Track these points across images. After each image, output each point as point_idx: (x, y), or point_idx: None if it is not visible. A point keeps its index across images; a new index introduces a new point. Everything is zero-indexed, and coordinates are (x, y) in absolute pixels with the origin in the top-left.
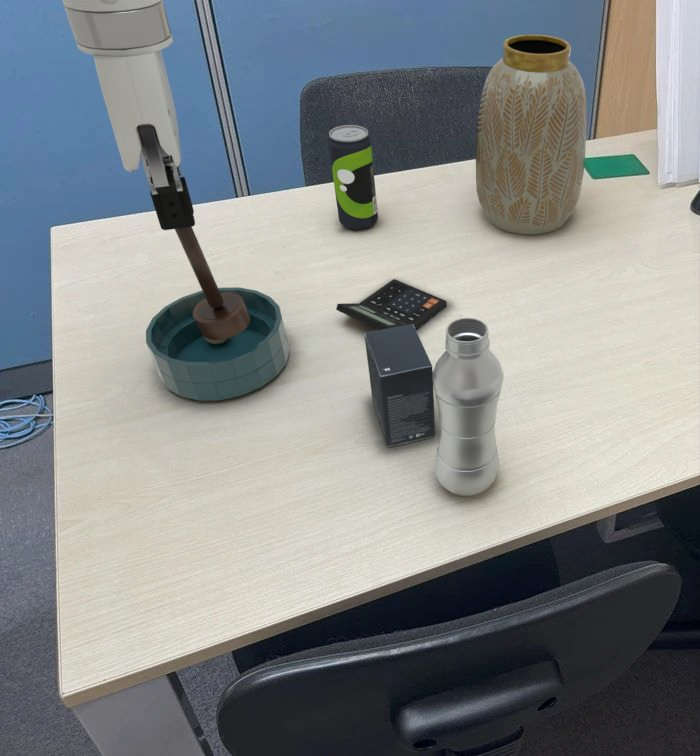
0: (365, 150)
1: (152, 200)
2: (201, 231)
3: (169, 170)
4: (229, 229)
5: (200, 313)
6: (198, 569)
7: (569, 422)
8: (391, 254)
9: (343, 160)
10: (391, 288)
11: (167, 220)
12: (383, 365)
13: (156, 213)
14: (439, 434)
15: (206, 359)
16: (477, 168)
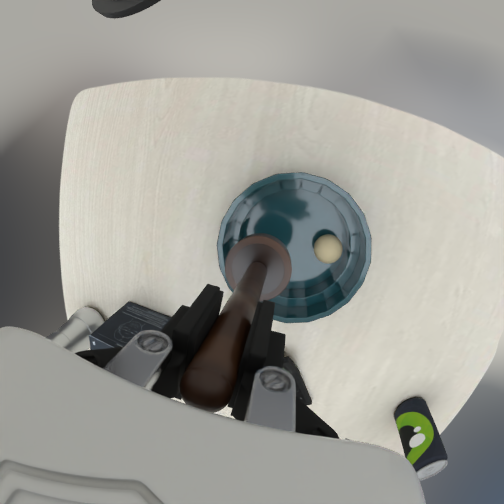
0: None
1: (182, 318)
2: (496, 293)
3: (240, 417)
4: (483, 316)
5: (258, 246)
6: (95, 156)
7: None
8: (351, 412)
9: (420, 452)
10: (300, 397)
11: (180, 307)
12: (98, 344)
13: (195, 300)
14: (72, 328)
15: (304, 223)
16: None
